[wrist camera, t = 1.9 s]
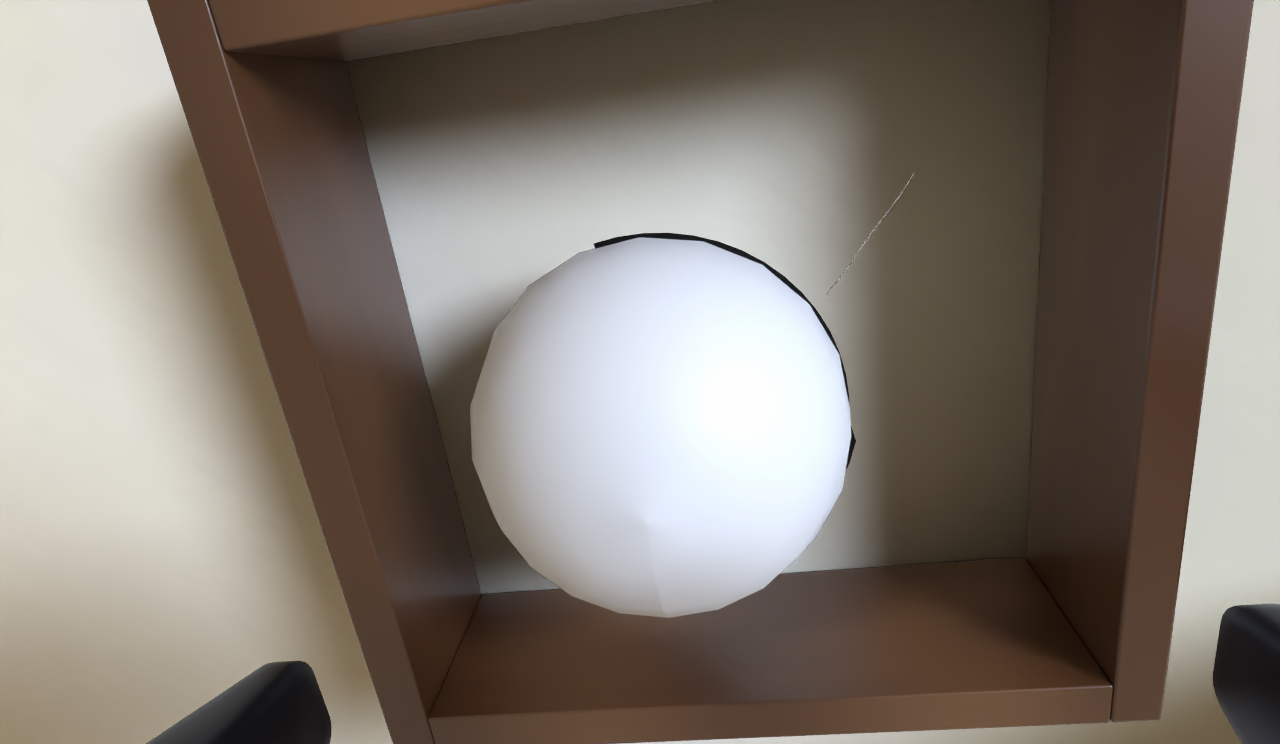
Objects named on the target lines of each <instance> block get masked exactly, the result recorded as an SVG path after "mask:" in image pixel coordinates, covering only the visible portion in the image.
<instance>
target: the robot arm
mask: <svg viewBox="0 0 1280 744" xmlns="http://www.w3.org/2000/svg"><path fill="white" fill-rule="evenodd" d="M1213 686H1214V690H1215V694H1216V697H1217V699H1218V702H1219V704H1220V706H1221V708H1222V710H1223V712H1224V713H1225V715H1226V717H1227V719H1228V721H1229V722H1230V724H1231V726H1232V728H1233V729H1234V731H1235V733H1236V735H1237V736H1238V738H1239V740H1240V742H1241V743H1242V744H1280V605H1279V604H1257V605H1240V606H1233V607H1231V608H1229V609H1227V610H1226V611H1225V613H1224V614H1223V616H1222V620H1221V624H1220V631H1219V638H1218V644H1217V651H1216V657H1215V664H1214V670H1213ZM330 738H331V720H330V716H329V713H328V711H327V708H326V705H325V702H324V700H323V697H322V694H321V691H320V688H319V686H318V683H317V680H316V677H315V675H314V672H313V670H312V668H311V667H310V666H309V665H308V664H307V663H306V662H302V661H288V662H273V663H269V664H266V665H264V666H262V667H260V668H259V669H257V670H256V671H254V672H253V673H251V674H250V675H248V676H247V677H245V678H244V679H242V680H241V681H239V682H238V683H236V684H235V685H233V686H232V687H230V688H229V689H227V690H226V691H224V692H223V693H221V694H220V695H218V696H217V697H215V698H214V699H212V700H211V701H209V702H208V703H206V704H205V705H203V706H202V707H200V708H199V709H197V710H196V711H194V712H193V713H191V714H190V715H188V716H187V717H185V718H184V719H182V720H181V721H179V722H178V723H176V724H175V725H173V726H172V727H170V728H169V729H167V730H166V731H164V732H163V733H161V734H160V735H158V736H157V737H155V738H154V739H152V740H151V741H149V742H148V743H146V744H329V743H330Z"/></svg>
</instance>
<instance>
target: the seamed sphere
mask: <svg viewBox="0 0 1280 744" xmlns="http://www.w3.org/2000/svg"><path fill="white" fill-rule="evenodd" d="M914 172H915V171H914ZM913 175H914V173H913V174H912V176H911V178H912V177H913ZM911 178H910V179H909V181H910V180H911ZM909 181H908V182H907V184H906V185H905V187H904V189H905V188H906V186H907V185H908V183H909ZM904 189H903V190H902V192H903V191H904ZM902 192H901V193H900V195H901V194H902ZM900 195H899V196H898V198H897V199H896V200H895V202H894V203H893V204H892V206H891V207H890V208H889V210H888V211H887V212H886V213H885V215H884V216H883V217H882V219H881V220H880V221H879V222H878V224H877V225H876V226H875V228H874V229H873V230H872V232H871V233H870V234H869V236H868V237H867V239H866V240H865V242H864V243H863V245H864V244H865V243H866V241H867V240H868V238H869V237H870V236H871V234H872V233H873V231H874V230H875V229H876V228H877V226H878V225H879V224H880V222H881V221H882V220H883V219H884V217H885V216H886V215H887V213H888V212H889V211H890V210H891V208H892V207H893V206H894V204H895V203H896V201H897V200H898V199H899V197H900ZM863 245H862V246H861V248H862V247H863ZM594 246H595V249H591V250H588V251H584V252H580V253H578V254H576V255H575V256H573V257H572V258H570V259H569V260H567V261H566V262H564V263H563V264H561V265H560V266H558V267H557V268H555V269H554V270H552V271H550V272H549V273H547V274H546V275H544V276H543V277H541V278H540V279H538V280H537V281H535V282H534V283H532V284H531V285H529V286H528V287H527V289H526V290H525V291H524V293H523V294H522V295H521V296H520V298H519V299H518V300H517V302H516V303H515V304H514V306H513V307H512V308H511V310H510V311H509V312H508V313H507V315H506V316H505V317H504V319H503V320H502V321H501V323H500V324H499V325H498V326H497V328H496V329H495V330H494V333H493V336H492V340H491V343H490V346H489V349H488V352H487V355H486V358H485V361H484V365H483V368H482V371H481V374H480V377H479V380H478V383H477V387H476V390H475V393H474V396H473V399H472V403H471V406H470V416H471V443H472V461H473V463H474V466H475V469H476V471H477V474H478V476H479V479H480V482H481V484H482V487H483V489H484V492H485V495H486V497H487V500H488V502H489V505H490V508H491V510H492V512H493V514H494V516H495V518H496V520H497V522H498V524H499V526H500V528H501V530H502V531H503V533H504V534H505V535H506V536H507V538H508V539H509V540H510V541H511V543H512V544H513V545H514V546H515V548H516V549H517V550H518V551H519V553H520V554H521V555H522V556H523V558H524V559H525V560H526V561H527V563H528V564H529V565H530V566H531V568H533V569H534V570H535V571H537V572H538V573H540V574H541V575H543V576H544V577H545V578H547V579H548V580H550V581H551V582H553V583H554V584H555V585H557V586H558V587H560V588H561V589H563V590H564V591H565V592H567V593H568V594H570V595H571V596H573V597H576V598H578V599H581V600H584V601H587V602H589V603H592V604H595V605H598V606H600V607H603V608H606V609H609V610H611V611H614V612H617V613H621V614H632V615H643V616H654V617H665V618H672V617H678V616H683V615H689V614H695V613H701V612H707V611H713V610H719V609H721V608H723V607H725V606H727V605H729V604H731V603H734V602H736V601H738V600H740V599H742V598H744V597H746V596H748V595H750V594H753V593H755V592H757V591H759V590H761V589H763V588H764V587H765V586H767V585H768V584H769V583H770V582H771V581H772V580H773V579H774V578H775V577H776V576H778V575H779V574H780V573H781V572H782V571H783V570H784V569H785V568H786V567H787V566H788V565H790V564H791V563H792V562H793V561H794V560H795V559H796V558H797V557H798V556H799V555H800V554H801V553H802V552H803V551H804V550H805V549H806V548H807V546H808V545H809V544H810V543H811V542H812V541H813V540H814V539H815V537H816V536H817V534H818V533H819V531H820V529H821V527H822V525H823V524H824V522H825V520H826V518H827V516H828V515H829V513H830V511H831V509H832V507H833V506H834V504H835V502H836V500H837V498H838V497H839V495H840V493H841V491H842V489H843V483H844V477H845V472H846V469H847V467H848V465H849V463H850V459H851V456H852V452H853V449H854V446H855V442H856V440H855V437H854V434H853V430H852V427H851V420H850V407H849V393H848V386H847V379H846V373H845V370H844V366H843V363H842V359H841V356H840V352H839V350H838V348H837V346H836V343H835V341H834V339H833V337H832V334H831V332H830V331H829V329H828V327H827V326H826V324H825V322H824V321H823V319H822V318H821V316H820V314H819V313H818V311H817V310H816V309H815V308H814V306H813V305H812V304H811V303H810V302H809V300H808V299H807V298H806V297H805V296H804V294H803V293H802V292H801V291H800V290H798V289H797V288H796V287H795V286H794V285H793V284H792V283H791V282H790V281H789V280H788V279H787V278H786V277H784V276H783V275H782V274H780V273H779V272H777V271H776V270H774V269H773V268H772V267H770V266H769V265H767V264H766V263H765V262H763V261H761V260H759V259H757V258H755V257H753V256H751V255H750V254H748V253H746V252H744V251H742V250H739V249H737V248H734V247H731V246H729V245H726V244H723V243H721V242H718V241H714V240H709V239H705V238H701V237H697V236H692V235H682V234H673V233H642V234H635V235H628V236H621V237H616V238H612V239H609V240H605V241H602V242H598V243H595V244H594ZM861 248H860V249H859V251H860V250H861ZM859 251H858V252H857V254H858V253H859ZM857 254H856V255H855V257H854V258H853V260H852V261H851V263H850V264H849V265H848V267H847V268H846V269H845V271H844V272H843V273H842V275H841V276H840V277H839V278H838V280H837V281H836V282H835V283H834V285H833V286H832V287H831V288H830V290H829V291H828V292H827V294H826V296H827V295H828V293H829V292H830V291H831V290H832V288H833V287H834V286H835V285H836V283H837V282H838V281H839V280H840V278H841V277H842V276H843V275H844V273H845V272H846V271H847V269H848V268H849V266H850V265H851V264H852V262H853V261H854V259H855V258H856V256H857Z"/></svg>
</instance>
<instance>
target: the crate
mask: <svg viewBox="0 0 1280 744" xmlns="http://www.w3.org/2000/svg"><path fill="white" fill-rule="evenodd" d="M147 1H148V4H149V7H150V10H151V13H152V16H153V19H154V22H155V25H156V28H157V31H158V34H159V37H160V40H161V43H162V46H163V49H164V52H165V55H166V58H167V61H168V64H169V67H170V70H171V73H172V76H173V79H174V82H175V85H176V88H177V91H178V94H179V98H180V101H181V104H182V107H183V110H184V113H185V116H186V119H187V122H188V125H189V128H190V131H191V134H192V137H193V140H194V143H195V146H196V149H197V152H198V155H199V158H200V161H201V164H202V167H203V170H204V173H205V176H206V179H207V182H208V185H209V188H210V191H211V194H212V197H213V200H214V203H215V206H216V209H217V212H218V215H219V218H220V221H221V225H222V228H223V231H224V234H225V237H226V240H227V243H228V246H229V249H230V252H231V255H232V258H233V261H234V264H235V267H236V270H237V273H238V276H239V279H240V282H241V285H242V288H243V291H244V294H245V297H246V300H247V303H248V306H249V309H250V312H251V315H252V318H253V321H254V324H255V327H256V330H257V333H258V336H259V339H260V342H261V345H262V349H263V352H264V355H265V358H266V361H267V364H268V367H269V370H270V373H271V376H272V379H273V382H274V385H275V388H276V391H277V394H278V397H279V400H280V403H281V406H282V409H283V412H284V415H285V418H286V421H287V424H288V427H289V430H290V433H291V436H292V439H293V442H294V445H295V448H296V451H297V454H298V457H299V460H300V463H301V466H302V469H303V472H304V476H305V479H306V482H307V485H308V488H309V491H310V494H311V497H312V500H313V503H314V506H315V509H316V512H317V515H318V518H319V521H320V524H321V527H322V530H323V533H324V536H325V539H326V542H327V545H328V548H329V551H330V554H331V557H332V560H333V563H334V566H335V569H336V572H337V575H338V578H339V581H340V584H341V587H342V590H343V593H344V596H345V599H346V603H347V606H348V609H349V612H350V615H351V618H352V621H353V624H354V627H355V630H356V633H357V636H358V639H359V642H360V645H361V648H362V651H363V654H364V657H365V660H366V663H367V666H368V669H369V672H370V675H371V678H372V681H373V684H374V687H375V690H376V693H377V696H378V699H379V702H380V705H381V708H382V711H383V714H384V717H385V720H386V723H387V727H388V730H389V733H390V736H391V739H392V742H393V744H617V743H640V742H664V741H688V740H711V739H735V738H759V737H782V736H806V735H830V734H854V733H877V732H901V731H925V730H948V729H972V728H996V727H1019V726H1043V725H1067V724H1090V723H1108V722H1109V721H1110V720H1111V721H1112V722H1129V721H1153V720H1160V719H1161V715H1162V708H1163V700H1164V692H1165V684H1166V677H1167V669H1168V661H1169V653H1170V646H1171V638H1172V630H1173V622H1174V614H1175V607H1176V599H1177V591H1178V583H1179V576H1180V568H1181V560H1182V552H1183V545H1184V537H1185V529H1186V521H1187V514H1188V506H1189V498H1190V490H1191V483H1192V475H1193V467H1194V459H1195V451H1196V444H1197V436H1198V428H1199V420H1200V413H1201V405H1202V397H1203V389H1204V382H1205V374H1206V366H1207V358H1208V351H1209V343H1210V335H1211V327H1212V320H1213V312H1214V304H1215V296H1216V289H1217V281H1218V273H1219V265H1220V257H1221V250H1222V242H1223V234H1224V226H1225V219H1226V211H1227V203H1228V195H1229V188H1230V180H1231V172H1232V164H1233V157H1234V149H1235V141H1236V133H1237V126H1238V118H1239V110H1240V102H1241V95H1242V87H1243V79H1244V71H1245V63H1246V56H1247V48H1248V40H1249V32H1250V25H1251V17H1252V9H1253V1H1254V0H1052V1H1051V24H1050V46H1049V68H1048V90H1047V113H1046V135H1045V157H1044V179H1043V202H1042V224H1041V246H1040V268H1039V291H1038V313H1037V335H1036V358H1035V380H1034V402H1033V424H1032V447H1031V469H1030V491H1029V513H1028V536H1027V558H1024V557H1019V558H1005V559H990V560H975V561H961V562H946V563H932V564H917V565H902V566H888V567H873V568H859V569H844V570H829V571H815V572H800V573H786V574H779V575H778V576H776V577H775V578H774V579H773V580H772V581H771V582H770V583H769V584H768V585H767V586H765V587H764V588H763V589H761V590H759V591H757V592H755V593H753V594H750V595H748V596H746V597H744V598H742V599H740V600H738V601H736V602H734V603H731V604H729V605H727V606H725V607H723V608H721V609H719V610H713V611H707V612H701V613H695V614H689V615H683V616H678V617H672V618H665V617H654V616H643V615H632V614H621V613H617V612H614V611H611V610H609V609H606V608H603V607H600V606H598V605H595V604H592V603H589V602H587V601H584V600H581V599H578V598H576V597H573V596H571V595H570V594H568V593H567V592H565V591H564V590H563V589H552V590H538V591H523V592H508V593H494V594H483V595H481V593H480V589H479V585H478V581H477V577H476V573H475V569H474V566H473V562H472V558H471V554H470V550H469V546H468V542H467V538H466V534H465V530H464V526H463V522H462V518H461V515H460V511H459V507H458V503H457V499H456V495H455V491H454V487H453V483H452V479H451V475H450V471H449V468H448V464H447V460H446V456H445V452H444V448H443V444H442V440H441V436H440V432H439V428H438V424H437V420H436V417H435V413H434V409H433V405H432V401H431V397H430V393H429V389H428V385H427V381H426V377H425V373H424V370H423V366H422V362H421V358H420V354H419V350H418V346H417V342H416V338H415V334H414V330H413V326H412V322H411V319H410V315H409V311H408V307H407V303H406V299H405V295H404V291H403V287H402V283H401V279H400V275H399V272H398V268H397V264H396V260H395V256H394V252H393V248H392V244H391V240H390V236H389V232H388V228H387V224H386V221H385V217H384V213H383V209H382V205H381V201H380V197H379V193H378V189H377V185H376V181H375V177H374V174H373V170H372V166H371V162H370V158H369V154H368V150H367V146H366V142H365V138H364V134H363V130H362V126H361V123H360V119H359V115H358V111H357V107H356V103H355V99H354V95H353V91H352V87H351V83H350V79H349V76H348V72H347V68H346V64H345V61H349V60H355V59H361V58H367V57H373V56H380V55H386V54H392V53H398V52H404V51H410V50H416V49H423V48H429V47H435V46H441V45H447V44H453V43H459V42H466V41H472V40H478V39H484V38H490V37H496V36H502V35H509V34H515V33H521V32H527V31H533V30H539V29H545V28H552V27H558V26H564V25H570V24H576V23H582V22H588V21H594V20H601V19H607V18H613V17H619V16H625V15H631V14H637V13H644V12H650V11H656V10H662V9H668V8H674V7H680V6H687V5H693V4H699V3H705V2H711V1H717V0H147Z"/></svg>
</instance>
